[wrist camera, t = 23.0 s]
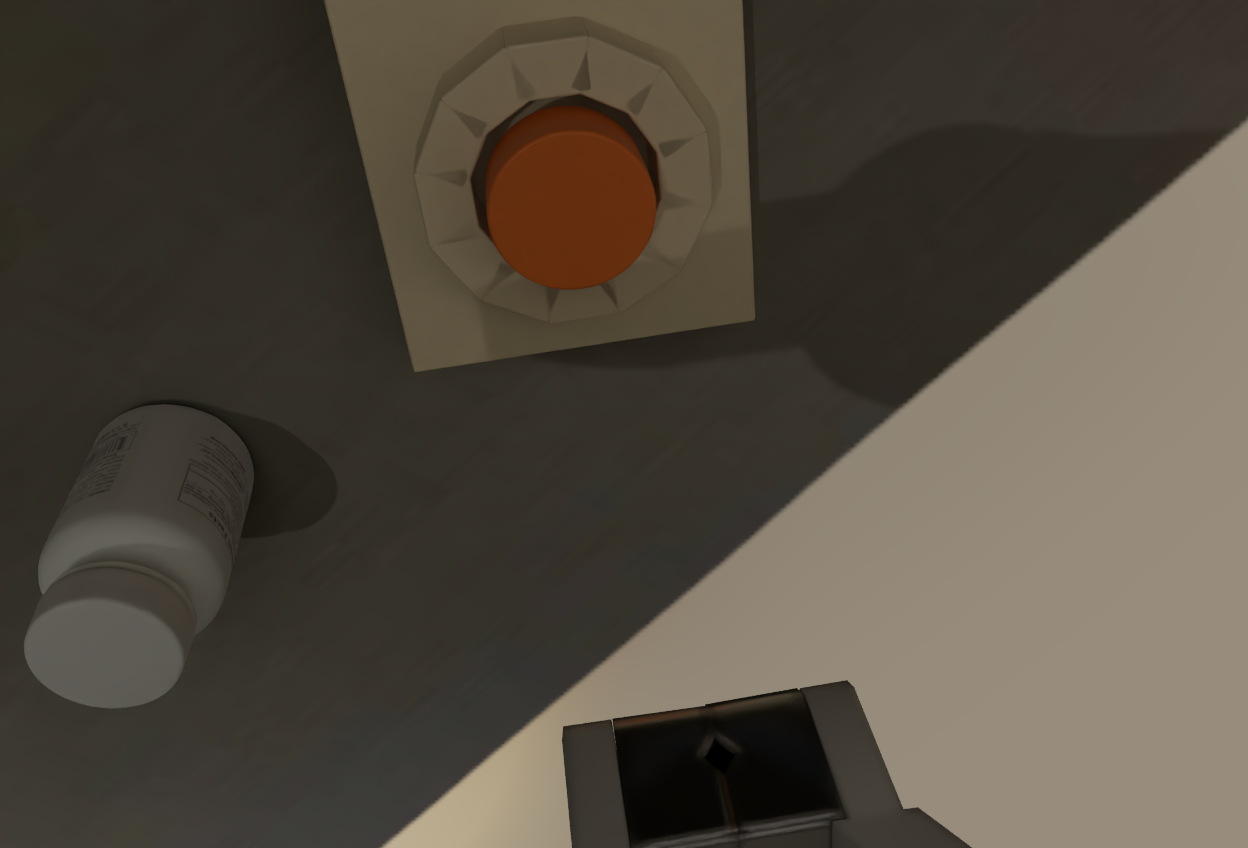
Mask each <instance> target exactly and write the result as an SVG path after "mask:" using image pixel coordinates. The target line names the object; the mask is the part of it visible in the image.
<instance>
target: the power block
mask: <svg viewBox="0 0 1248 848" xmlns="http://www.w3.org/2000/svg"><path fill="white" fill-rule="evenodd" d="M324 3H325V7H326V11H327V15H328V20H329V24H330V28H331V32H332V36H333V40H334V44H335V48H336V53H337V57H338V61H339V65H340V69H341V73H342V77H343V82H344V86H345V90H346V94H347V98H348V102H349V106H350V110H351V115H352V119H353V123H354V127H355V131H356V135H357V139H358V144H359V148H360V152H361V156H362V160H363V164H364V168H365V172H366V177H367V181H368V185H369V189H370V193H371V197H372V201H373V206H374V210H375V214H376V218H377V222H378V226H379V230H380V234H381V239H382V243H383V247H384V251H385V255H386V259H387V263H388V268H389V272H390V276H391V280H392V284H393V288H394V292H395V296H396V301H397V305H398V309H399V313H400V317H401V321H402V325H403V330H404V334H405V338H406V342H407V346H408V350H409V354H410V358H411V363H412V367H413V370H414V372H420V371H427V370H433V369H440V368H446V367H453V366H459V365H466V364H472V363H479V362H485V361H492V360H499V359H505V358H512V357H518V356H525V355H531V354H538V353H544V352H551V351H557V350H564V349H570V348H577V347H583V346H590V345H597V344H603V343H610V342H616V341H623V340H629V339H636V338H642V337H649V336H655V335H662V334H668V333H675V332H682V331H688V330H695V329H701V328H708V327H714V326H721V325H727V324H734V323H740V322H747V321H753V320H754V319H755V303H754V278H753V252H752V227H751V202H750V176H749V151H748V126H747V101H746V75H745V50H744V25H743V0H324ZM555 106H578V107H584V108H588V109H591V110H595V111H598V112H600V113H602V114H604V115H606V116H608V117H609V118H611V119H612V120H614V121H615V122H617V123H618V124H619V125H620V126H621V127H622V128H624V129H625V131H626V132H627V133H628V134H629V135H630V136H631V138H632V139H633V141H634V142H635V144H636V145H637V148H638V150H639V152H640V154H641V156H642V159H643V161H644V163H645V166H646V168H647V170H648V173H649V175H650V178H651V180H652V183H653V187H654V190H655V196H656V218H655V224H654V228H653V231H652V234H651V236H650V239H649V241H648V243H647V245H646V247H645V248H644V250H643V251H642V253H641V254H640V255H639V257H638V258H637V259H636V260H635V261H634V262H633V263H632V265H631V266H630V267H628V268H627V269H626V270H625V271H624V272H622V273H621V274H619V275H618V276H616V277H615V278H613V279H611V280H609V281H607V282H605V283H603V284H600V285H597V286H594V287H589V288H584V289H576V290H563V289H555V288H550V287H546V286H543V285H540V284H537V283H535V282H533V281H530V280H529V279H527V278H525V277H523V276H522V275H520V274H519V273H518V272H516V271H515V270H514V269H513V268H512V267H511V266H510V265H509V264H508V263H507V262H506V261H505V260H504V259H503V257H502V256H501V255H500V253H499V252H498V250H497V248H496V246H495V245H494V242H493V240H492V237H491V235H490V231H489V227H488V221H487V210H486V195H485V176H486V170H487V166H488V162H489V159H490V156H491V154H492V152H493V150H494V148H495V146H496V145H497V143H498V142H499V140H500V139H501V137H502V136H503V135H504V134H505V133H506V132H507V130H509V129H510V128H511V127H512V126H513V125H514V124H515V123H517V122H518V121H520V120H521V119H523V118H524V117H526V116H528V115H530V114H532V113H534V112H536V111H539V110H542V109H545V108H550V107H555Z"/></svg>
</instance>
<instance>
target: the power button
mask: <svg viewBox="0 0 1248 848" xmlns="http://www.w3.org/2000/svg"><path fill="white" fill-rule="evenodd" d="M485 195H486V210H487V221H488V227H489V231H490V235H491V237H492V240H493V242H494V245H495V246H496V248H497V250H498V252H499V253H500V255H501V256H502V257H503V259H504V260H505V261H506V262H507V263H508V264H509V265H510V266H511V267H512V268H513V269H514V270H515V271H516V272H518V273H519V274H520V275H522V276H523V277H525V278H527V279H529V280H530V281H533V282H535V283H537V284H540V285H543V286H546V287H550V288H555V289H563V290H576V289H584V288H589V287H594V286H597V285H600V284H603V283H605V282H607V281H609V280H611V279H613V278H615V277H616V276H618V275H619V274H621V273H622V272H624V271H625V270H626V269H627V268H628V267H630V266H631V265H632V263H633V262H634V261H635V260H636V259H637V258H638V257H639V255H640V254H641V253H642V251H643V250H644V248H645V247H646V245H647V243H648V241H649V239H650V236H651V234H652V231H653V228H654V224H655V218H656V196H655V190H654V187H653V183H652V180H651V178H650V175H649V173H648V170H647V168H646V166H645V163H644V161H643V159H642V156H641V154H640V152H639V150H638V148H637V145H636V144H635V142H634V141H633V139H632V138H631V136H630V135H629V134H628V133H627V132H626V131H625V129H624V128H622V127H621V126H620V125H619V124H618V123H617V122H615V121H614V120H612V119H611V118H609V117H608V116H606V115H604V114H602V113H600V112H598V111H595V110H591V109H588V108H584V107H578V106H555V107H550V108H545V109H542V110H539V111H536V112H534V113H532V114H530V115H528V116H526V117H524V118H523V119H521V120H520V121H518V122H517V123H515V124H514V125H513V126H512V127H511V128H510V129H509V130H507V132H506V133H505V134H504V135H503V136H502V137H501V139H500V140H499V142H498V143H497V145H496V146H495V148H494V150H493V152H492V154H491V156H490V159H489V162H488V166H487V170H486V176H485Z"/></svg>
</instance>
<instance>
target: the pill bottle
mask: <svg viewBox="0 0 1248 848" xmlns="http://www.w3.org/2000/svg"><path fill="white" fill-rule="evenodd" d="M253 483H254V468H253V463H252V460H251V457H250V454H249V452H248V450H247V448H246V446H245V444H244V443H243V441H242V440H241V439H240V437H239V436H238V435H237V434H236V433H235V432H234V431H233V430H232V429H231V428H230V427H229V426H227V425H226V424H225V423H224V422H222V421H221V420H220V419H218V418H217V417H215V416H213V415H211V414H208V413H206V412H203V411H200V410H197V409H194V408H191V407H186V406H180V405H172V404H160V405H147V406H141V407H138V408H135V409H132V410H130V411H127V412H125V413H123V414H121V415H120V416H118V417H116V418H115V419H114V420H112V421H111V422H110V423H109V424H108V425H106V426H105V427H104V429H103V430H102V431H101V432H100V434H99V435H98V437H97V439H96V441H95V442H94V444H93V447H92V449H91V451H90V453H89V455H88V457H87V459H86V461H85V463H84V465H83V467H82V469H81V471H80V473H79V475H78V477H77V480H76V482H75V484H74V486H73V488H72V490H71V492H70V494H69V496H68V498H67V500H66V502H65V504H64V506H63V508H62V510H61V512H60V514H59V516H58V518H57V520H56V522H55V524H54V526H53V528H52V530H51V532H50V534H49V536H48V539H47V541H46V543H45V546H44V548H43V550H42V553H41V556H40V560H39V565H38V581H39V586H40V590H41V593H42V597H41V599H40V601H39V603H38V605H37V608H36V611H35V613H34V615H33V618H32V620H31V623H30V625H29V628H28V630H27V633H26V636H25V641H24V652H25V658H26V661H27V664H28V666H29V667H30V669H31V671H32V673H33V674H34V675H35V677H36V678H37V679H38V680H39V681H40V682H41V683H42V684H44V685H45V686H46V687H47V688H49V689H50V690H51V691H53V692H55V693H56V694H58V695H60V696H62V697H64V698H66V699H69V700H72V701H74V702H77V703H80V704H84V705H88V706H91V707H101V708H125V707H132V706H137V705H141V704H145V703H148V702H150V701H153V700H155V699H157V698H159V697H160V696H162V695H163V694H165V693H166V692H167V691H169V690H170V689H171V688H172V687H173V686H174V684H175V683H176V682H177V680H178V679H179V677H180V676H181V673H182V671H183V669H184V666H185V663H186V660H187V657H188V654H189V651H190V648H191V645H192V642H193V639H194V636H195V635H197V634H198V633H199V632H201V631H202V630H203V629H204V628H205V627H206V626H207V625H208V624H210V622H211V621H212V620H213V619H214V617H215V616H216V615H217V613H218V611H219V610H220V608H221V606H222V603H223V601H224V598H225V594H226V591H227V587H228V584H229V580H230V576H231V572H232V569H233V564H234V561H235V556H236V552H237V549H238V545H239V540H240V536H241V532H242V529H243V524H244V521H245V517H246V513H247V510H248V506H249V502H250V498H251V493H252V488H253Z"/></svg>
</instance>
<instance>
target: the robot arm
mask: <svg viewBox="0 0 1248 848" xmlns="http://www.w3.org/2000/svg"><path fill="white" fill-rule="evenodd" d="M613 727H614V732H613ZM614 735H615V738H614ZM615 742H616V744H615ZM562 744H563V754H564V765H565V776H566V787H567V797H568V808H569V819H570V830H571V840H572V848H972V847H970V846H969V845H967V844H966V843H965V842H964V841H962V840H961V839H959V838H958V837H957V836H955V835H954V834H953V833H951V832H950V831H949V830H947V829H946V828H945V827H943V826H942V825H941V824H939V823H938V822H937V821H935V820H934V819H933V818H931V817H930V816H929V815H927V814H926V813H925V812H923V811H922V810H921V809H919V808H910V809H903V807H902V805H901V802H900V800H899V798H898V795H897V792H896V790H895V787H894V785H893V783H892V780H891V778H890V775H889V773H888V770H887V768H886V765H885V763H884V760H883V758H882V755H881V753H880V750H879V748H878V745H877V743H876V741H875V738H874V736H873V733H872V731H871V728H870V726H869V723H868V721H867V718H866V716H865V714H864V711H863V708H862V706H861V704H860V701H859V699H858V696H857V694H856V691H855V689H854V687H853V686H852V685H851V684H850V683H849V682H848V681H841V682H835V683H829V684H823V685H817V686H812V687H805V688H800V690H798V689H797V688H795V689H790V690H784V691H779V692H773V693H767V694H762V695H756V696H751V697H745V698H739V699H733V700H728V701H722V702H716V703H711V704H706V705H705V706H701V707H694V708H687V709H679V710H672V711H665V712H658V713H651V714H644V715H637V716H630V717H623V718H615V719H613V726H612V722H611V720H605V721H598V722H591V723H584V724H578V725H570V726H564V727H563V737H562ZM616 749H617V750H616Z"/></svg>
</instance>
